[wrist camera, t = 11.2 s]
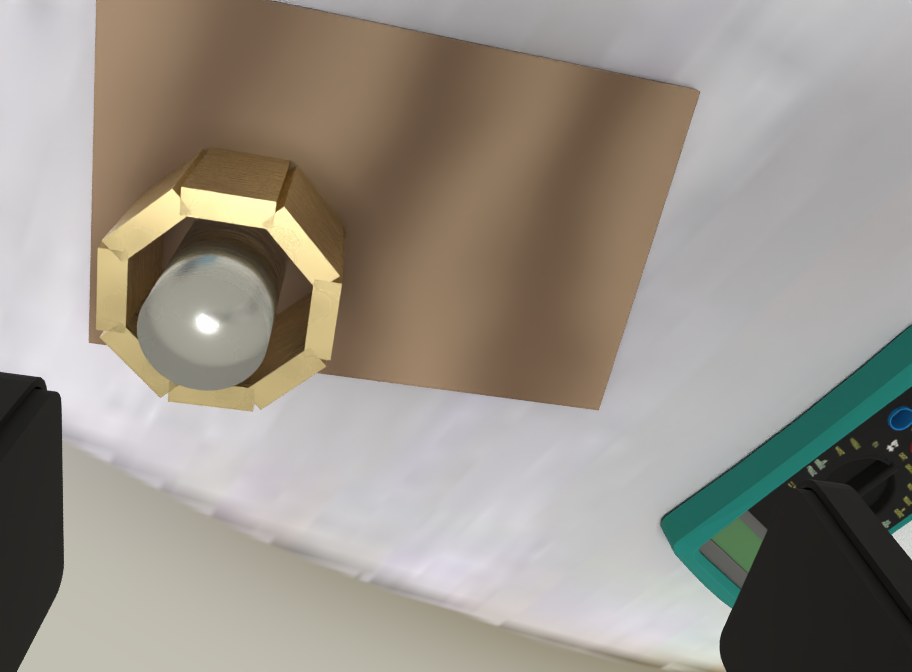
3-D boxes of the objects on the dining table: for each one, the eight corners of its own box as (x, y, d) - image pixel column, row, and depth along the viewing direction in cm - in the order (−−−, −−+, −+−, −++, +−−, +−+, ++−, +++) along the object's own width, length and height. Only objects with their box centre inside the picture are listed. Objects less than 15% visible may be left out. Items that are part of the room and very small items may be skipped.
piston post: (294, 211, 29) (274, 286, 23) (282, 303, 31) (261, 398, 24) (189, 194, 28) (139, 266, 22) (182, 289, 30) (134, 382, 24)
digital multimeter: (998, 407, 37) (1047, 442, 35) (737, 597, 41) (763, 642, 38) (921, 304, 35) (968, 334, 32) (648, 517, 38) (670, 560, 35)
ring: (354, 171, 29) (352, 214, 24) (327, 351, 32) (321, 419, 27) (142, 135, 27) (99, 173, 23) (134, 325, 30) (94, 392, 26)
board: (694, 88, 29) (700, 91, 29) (595, 402, 34) (598, 410, 34) (102, -35, 26) (96, -35, 25) (93, 335, 31) (88, 342, 30)
